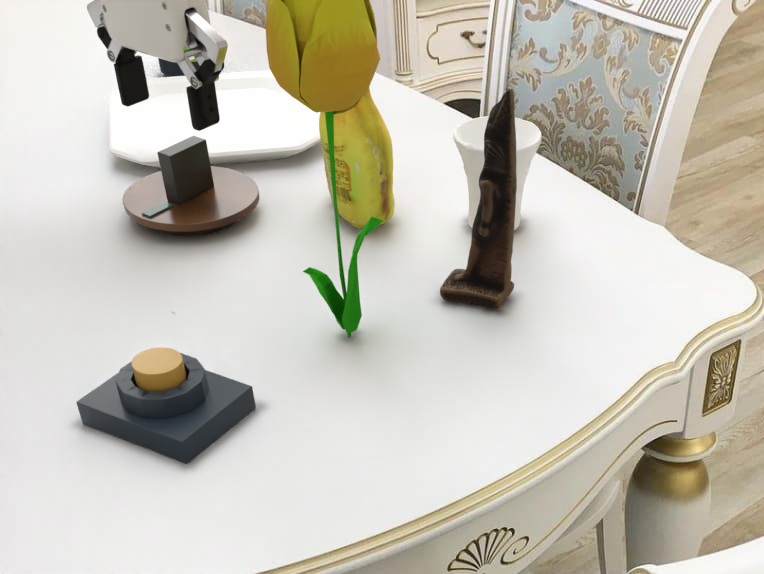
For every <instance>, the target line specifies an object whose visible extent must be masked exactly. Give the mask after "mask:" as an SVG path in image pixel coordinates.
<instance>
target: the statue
mask: <svg viewBox="0 0 764 574" xmlns="http://www.w3.org/2000/svg"><path fill="white" fill-rule="evenodd" d="M488 116H489V118H488V121H487V126H486V129H485V133H484V158H485V160H484V166H483V169H482V171H481V174H480V177H479V188H480V201H479V205H478V209H477V213H476V216H475V219H474V223H473V227H472V228H471V243H470V248H469V251H468V252H469V253H468V258H467V264H466V268H465V269H464V268H455V269H453V270H452V271H451V272H450V274H449V275H448V276H447V278H445V280H444V281H443V283H442V284H441V286H440V288H439V294H440V296H441V298H442V299H443V300H444V301H446V302H452V303H453V302H455V303H462V304H467V305H472V306H477V307H482V308H486V309H490V310H499V309H500V308H501V307H502V306H503V305H504V304H505V302H506V301H507V299H509V297H510V296H511V294H512V292H513V291H514V288H515V283H514V282H513V280H512V258H513V253H514V252H513V251H514V250H513V249H514V248H513V247H514V246H513V245H514V237H515V230H514V221H515V206H516V190H517V177H516V130H515V118H516V116H515V93H514V89H512V88H509V89H507V90H506V91H505V92H504V93H503V94H502V96H501V97H500V100H499V101H498V102H496V103H495V104H494V105H493V106H492V108H491V109H490V112H489V114H488Z"/></svg>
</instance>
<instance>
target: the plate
mask: <svg viewBox="0 0 764 574" xmlns="http://www.w3.org/2000/svg"><path fill="white" fill-rule="evenodd" d="M146 81H147V86H148V92H149V98H148V99H147V100H144V101H141V102H139V103H136V104H134V105H131V106H128V107H127V106H124V105H123V104H122V103H121V98H120V93H119V88H118V87H117V88H115V89H113V90H111V92H110V93H109V94H108V152H109V154H111V155H112V156H113V157H117V158H121V159H123V160H126V161H128V162H129V161H130V162H132V163H136V164H139V165H142V166H148V167H153V168H159V169H161V168H160V163H159V158H158V153H157V152H159V151H161V150H164V149H166V148H168V147H170V146H172V145H174V144H176V143H179V142H181V141H183V140H185V139H187V138H189V137H192V136H196V137H199V138H203V139H206V143H207V148H208V154H209V160H210V165H211V166H215V165H224V164H225V165H226V164H236V163H237V164H239V163H249V162H250V163H251V162H260V161H263V162H264V161H273V160H274V161H275V160H282V159H286V158H288V157H292V156H294V155H297V154H300V153H302V152H304V151H306V150H308V149H310V148H312V147H313V146H316V145H317V144H318V143H321V139H320V131H319V117H320V112H318V113H316V112H314V111H312V110H311V109H309V108H308V107H306V106H305V105H304V104H302V103H301V102H299V101H298V100H296V99H295V98H293V97H292V96H291V95H290V94H288V93H287V92H286V91H285V90H284V89H282V88H281V87H280V86H279V84H278V83H277V81H276V79H275V77H274V76H273V74H272V72H271V70H270V69H266V70H265V69H264V70H263V69H262V70H252V71H251V70H250V71H236V72H221V73H220V74H219V80H218V81H216V82H215V89H216V96H217V103H218V110H219V116H220V120H219V122H218V123H217V124H214V125H212V126H210V127H207V128H205V129H203V130H200V131H198V130H195V129H194V128H193V126H192V122H191V116H190V109H189V103H188V97H187V91H186V90H187V88H186V87H189V86H191V84H190V83H189V81H188V79H187V78H186V76H175V77H166V76H161V77H148V78H147V77H146Z"/></svg>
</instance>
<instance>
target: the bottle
mask: <svg viewBox="0 0 764 574" xmlns="http://www.w3.org/2000/svg"><path fill="white" fill-rule="evenodd" d="M319 131H320V139H321V142H320V144H321V151H322V157H323V163H324V171H325V172H324V173H325V177H326V183H327V189H328V192H329V196H330V200H331V203H332V205H333V206H334V200H333V189H332V178H331V167H330V157H329V147H328V138H327V128H326V118H325V112H320V117H319ZM393 151H394V149H393V142H392V137H391V135H390V132H389V129H388V126H387V124H386V122H385V120H384V119H383V116H382V114H381V113H380V110H379V108H378V107H377V105H376V104H375V102H374V99H373V97H372V94H371V89H370V87H369V88H368V90H367V91H366V93H365V95H364V96H363V97H361V99H360V100H359V102H358V103H357V105H356V107H354V108H352V109H350V110H348V111H346V112H345V113H340V114H334V158H335V177H336V196H337V210H338V214H339V215H340V216H341V217H342V219H343V220H345V222H348V223H349V224H350V225H351V226H353V227H355V228H357V229H358V228H359V229H361V230H362V229H363V227H364V226H365V225H366V224H367V222H368V221H369V219H370V218H371V217H374V218H377V219H380V220H382V221H383V222H382V223H381V224H380V225H378V226H377V227H379V226H381V225H383V224H385V223H387V222H389V221H390V220H391V219H392V218H393V216H394V213H395V195H394V190H393V188H394V187H393V185H394V154H393Z"/></svg>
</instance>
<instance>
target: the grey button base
mask: <svg viewBox="0 0 764 574" xmlns="http://www.w3.org/2000/svg"><path fill="white" fill-rule="evenodd" d="M179 353H180V354H181V355H182V358H183V363H184V367H185V371H186V380H185V382H183V383H182V384H181V385H179V386H178V387H175V388H172V389H168V390H165V391H146V390H143V389H140V388H139V387H138V386H137V384H136V380H135V376H134V372H133V369H132V365H131V364H132V360H131V361H130V362H128V363H127V364H126V365H124V366H122V367H121V368H120V369H119V371H118V372H117V373H116V374H114V375H113V376H111V377H110V378H108V379H107V380H105V381H104V382H102V384H100V385H98V386H97V387H96V388H94V389H93V390H91V391H89V392H88V393H87V394H86V395H84V396H83V397H81V398H80V399H78V400H77V401H76V406H77V410H78V413H79V416H80V419H81V422H82V424H83V425H84V426H87V427H89V428H92V429H95V430H97V431H100V432H102V433H104V434H107V435H109V436H112V437H115V438H118V439H120V440H123V441H126V442H129V443H131V444H133V445H135V446H138V447H141V448H143V449H147V450H149V451H152V452H154V453H157V454H159V455H162V456H165V457H168V458H170V459H172V460H175V461H177V462H180V463H183V464H185V465H188V464H189V463H191V462H192V461H193V460H194V459H195V458H196V457H198V456H199V455H200V454H201V453H203V452H204V451H205V450H207V449H208V448H209V447H210V446H212V445H213V444H214V443H216V441H218V440H219V439H220V438H221V437H222V436H224V435H225V434H226V433H228V432H229V431H230V430H231V429H232V428H233V427H235V426H236V425H237V424H239V423H240V422H241V421H242V420H243V419H245V418H246V417H247V416H248V415H249V414H250V413H252V412H253V411H254V410H255V409H256V408H257V406H256V401H255V395H254V390H253V386H252V385H249V384H247V383H244V382H241V381H239V380H236V379H233V378H230V377H227V376H224V375H221V374H218V373H216V372H212V371H210V370H206V368H205V367H204V366H203V364H202V363H201V362H200V361H199V359H197V357H194V356H190V355H188V354H185V353H183V352H179Z"/></svg>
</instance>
